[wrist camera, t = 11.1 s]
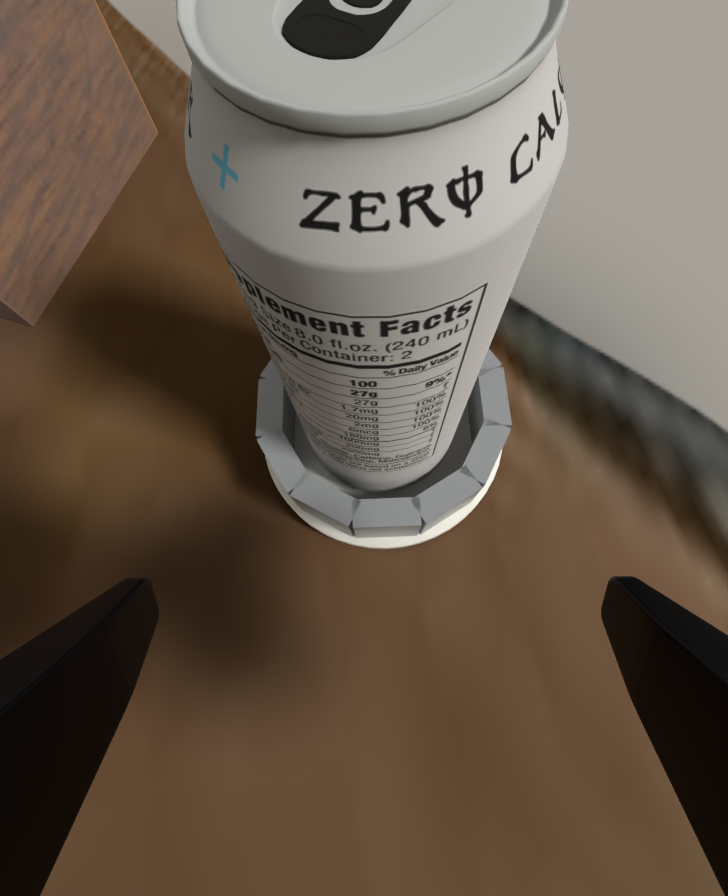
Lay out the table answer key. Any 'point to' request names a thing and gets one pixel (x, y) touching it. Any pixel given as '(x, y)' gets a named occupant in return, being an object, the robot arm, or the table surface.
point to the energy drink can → (375, 199)
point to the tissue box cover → (59, 143)
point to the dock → (394, 512)
